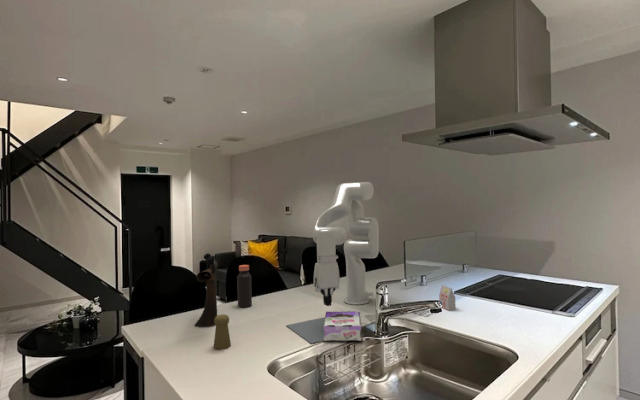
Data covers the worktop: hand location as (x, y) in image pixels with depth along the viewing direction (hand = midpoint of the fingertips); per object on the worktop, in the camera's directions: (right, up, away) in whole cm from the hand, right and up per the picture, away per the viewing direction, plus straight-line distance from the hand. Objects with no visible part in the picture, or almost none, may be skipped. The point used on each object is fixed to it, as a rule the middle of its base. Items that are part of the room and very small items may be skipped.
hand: (327, 304), depth 142 cm
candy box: (+6, -6, +1) cm, 8 cm away
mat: (-4, -9, -2) cm, 10 cm away
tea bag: (+56, -8, +21) cm, 60 cm away
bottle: (-40, -11, +33) cm, 53 cm away
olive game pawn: (-38, -10, -16) cm, 42 cm away
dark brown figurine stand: (-51, -11, +8) cm, 53 cm away
